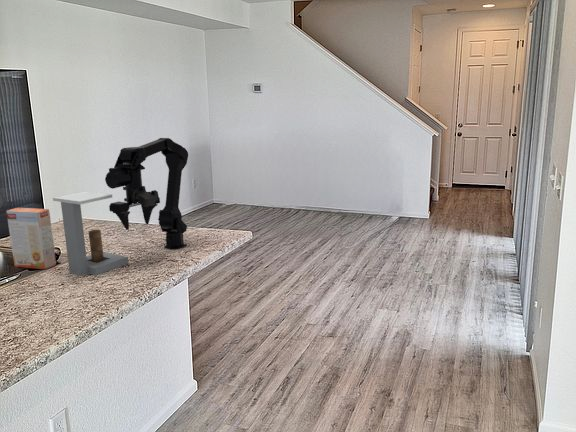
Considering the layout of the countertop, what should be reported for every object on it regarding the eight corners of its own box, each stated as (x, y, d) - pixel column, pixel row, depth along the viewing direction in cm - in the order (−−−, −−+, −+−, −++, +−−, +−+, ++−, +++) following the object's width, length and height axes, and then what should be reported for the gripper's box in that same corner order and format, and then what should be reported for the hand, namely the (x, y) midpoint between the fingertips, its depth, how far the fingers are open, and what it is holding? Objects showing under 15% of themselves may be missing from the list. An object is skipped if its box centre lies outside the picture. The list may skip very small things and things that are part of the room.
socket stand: (102, 257, 196) (95, 189, 190) (128, 263, 189) (121, 192, 183) (62, 271, 182) (52, 197, 176) (88, 277, 175) (79, 201, 169)
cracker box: (57, 265, 189) (50, 208, 185) (44, 270, 184) (36, 212, 179) (26, 261, 194) (19, 206, 189) (13, 267, 188) (5, 210, 184)
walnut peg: (103, 263, 189) (99, 229, 186) (105, 266, 186) (101, 231, 183) (91, 265, 188) (87, 230, 185) (93, 268, 184) (89, 233, 181)
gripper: (128, 189, 173) (132, 235, 176) (169, 181, 188) (172, 223, 192) (106, 187, 179) (110, 231, 182) (147, 179, 194) (150, 220, 198)
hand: (137, 226), depth 188 cm, fingers open, 9 cm apart
